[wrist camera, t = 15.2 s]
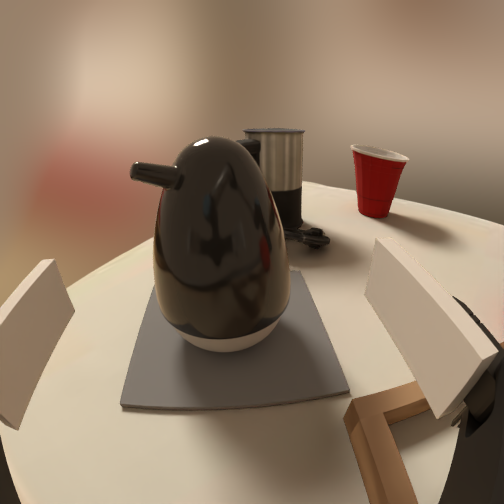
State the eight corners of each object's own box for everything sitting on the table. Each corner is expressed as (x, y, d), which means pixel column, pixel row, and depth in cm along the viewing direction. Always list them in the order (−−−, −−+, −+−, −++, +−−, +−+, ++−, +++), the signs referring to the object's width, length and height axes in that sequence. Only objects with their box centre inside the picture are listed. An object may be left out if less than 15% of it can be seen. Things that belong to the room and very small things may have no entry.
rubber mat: (299, 273, 31) (299, 270, 31) (348, 392, 17) (349, 389, 17) (156, 283, 30) (155, 280, 30) (121, 406, 16) (119, 403, 16)
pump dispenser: (149, 318, 24) (112, 147, 17) (241, 279, 30) (233, 129, 22) (204, 397, 17) (155, 154, 10) (313, 331, 22) (330, 136, 15)
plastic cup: (392, 229, 41) (402, 157, 36) (336, 213, 48) (340, 146, 42) (407, 213, 48) (414, 153, 43) (359, 200, 55) (363, 143, 49)
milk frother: (265, 209, 50) (263, 126, 44) (349, 227, 42) (356, 133, 35) (212, 237, 40) (204, 133, 33) (315, 267, 32) (322, 136, 25)
